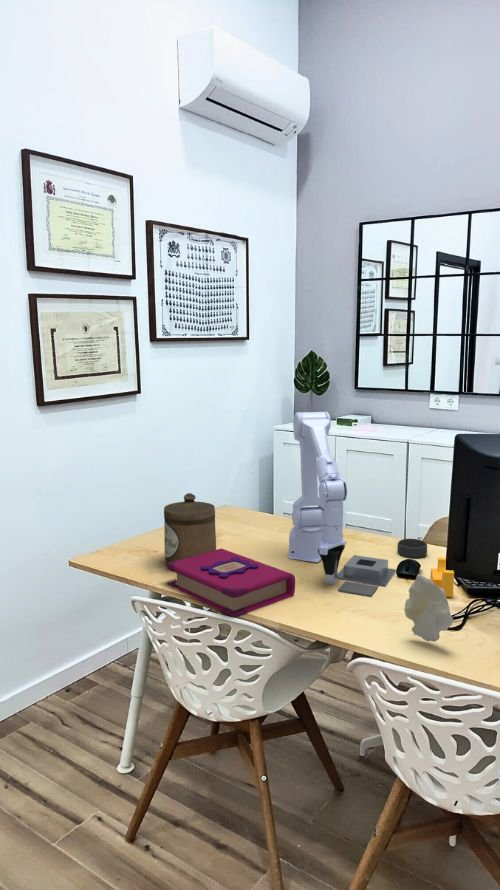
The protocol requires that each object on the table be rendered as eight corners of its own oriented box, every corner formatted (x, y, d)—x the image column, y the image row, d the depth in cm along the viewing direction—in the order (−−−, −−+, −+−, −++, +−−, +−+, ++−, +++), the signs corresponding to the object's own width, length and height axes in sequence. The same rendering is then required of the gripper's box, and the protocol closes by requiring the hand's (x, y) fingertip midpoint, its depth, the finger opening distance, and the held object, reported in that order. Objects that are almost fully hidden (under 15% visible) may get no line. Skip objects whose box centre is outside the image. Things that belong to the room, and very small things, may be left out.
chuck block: (334, 578, 179) (335, 566, 179) (348, 564, 191) (348, 552, 190) (385, 586, 173) (385, 573, 173) (396, 571, 185) (396, 559, 184)
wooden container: (165, 560, 195) (164, 488, 191) (214, 558, 196) (214, 487, 193) (164, 578, 180) (162, 500, 177) (217, 575, 182) (217, 499, 178)
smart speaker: (416, 549, 206) (417, 536, 205) (432, 557, 197) (433, 545, 197) (391, 551, 203) (392, 539, 202) (407, 560, 195) (407, 547, 194)
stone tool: (454, 644, 140) (458, 578, 138) (448, 650, 137) (451, 583, 135) (407, 630, 147) (410, 567, 144) (400, 636, 144) (403, 571, 142)
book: (225, 570, 187) (225, 544, 186) (295, 597, 167) (295, 569, 166) (165, 588, 173) (164, 561, 172) (233, 621, 153) (233, 590, 152)
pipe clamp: (430, 579, 179) (431, 557, 178) (446, 580, 179) (447, 558, 178) (435, 596, 168) (436, 572, 167) (452, 597, 167) (454, 573, 166)
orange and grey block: (324, 583, 175) (325, 557, 174) (327, 580, 178) (328, 554, 177) (334, 585, 174) (334, 558, 173) (336, 582, 177) (337, 555, 176)
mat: (337, 591, 170) (337, 589, 170) (345, 582, 176) (345, 581, 176) (371, 597, 166) (371, 595, 166) (378, 587, 173) (378, 586, 173)
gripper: (338, 532, 165) (337, 583, 167) (354, 519, 178) (353, 566, 180) (312, 529, 168) (311, 579, 170) (329, 516, 181) (328, 562, 183)
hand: (331, 572), depth 176 cm, fingers closed on orange and grey block, 2 cm apart
